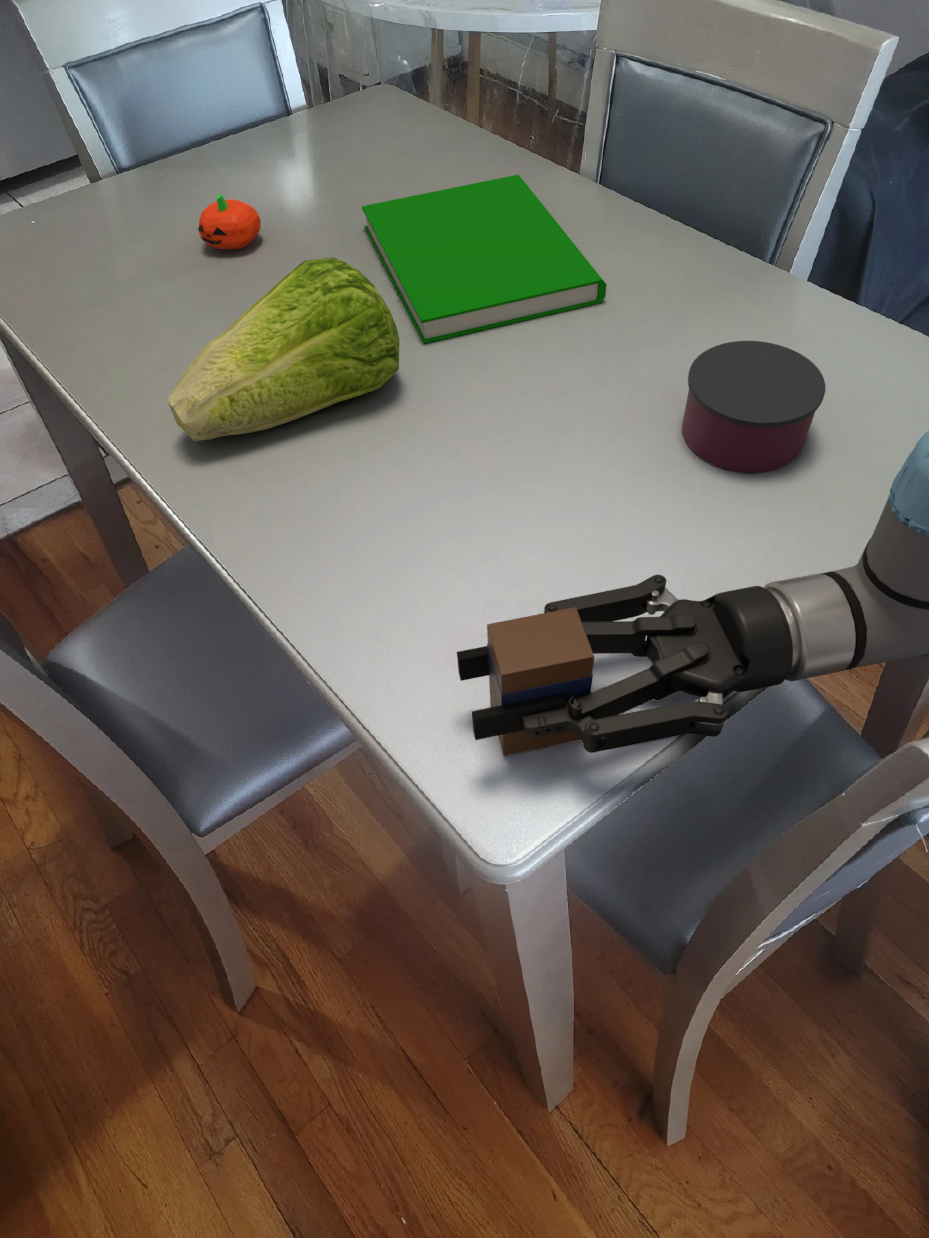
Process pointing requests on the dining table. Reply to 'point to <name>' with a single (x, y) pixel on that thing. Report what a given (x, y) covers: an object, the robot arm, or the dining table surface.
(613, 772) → the dining table surface
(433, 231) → the book
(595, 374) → the dining table surface
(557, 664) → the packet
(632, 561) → the dining table surface
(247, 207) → the pumpkin
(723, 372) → the lidded tub
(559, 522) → the dining table surface
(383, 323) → the lettuce
